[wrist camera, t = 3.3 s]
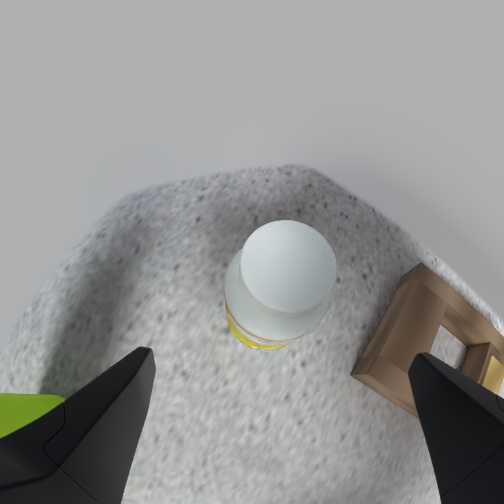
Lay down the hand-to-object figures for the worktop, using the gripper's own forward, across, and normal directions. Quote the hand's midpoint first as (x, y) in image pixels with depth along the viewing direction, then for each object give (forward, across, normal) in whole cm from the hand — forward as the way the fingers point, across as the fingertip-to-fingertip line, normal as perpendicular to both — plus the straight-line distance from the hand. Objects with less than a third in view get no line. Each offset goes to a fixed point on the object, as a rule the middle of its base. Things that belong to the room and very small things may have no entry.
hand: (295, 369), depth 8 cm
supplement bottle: (+11, 0, +5) cm, 12 cm away
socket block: (+7, -15, +8) cm, 18 cm away
